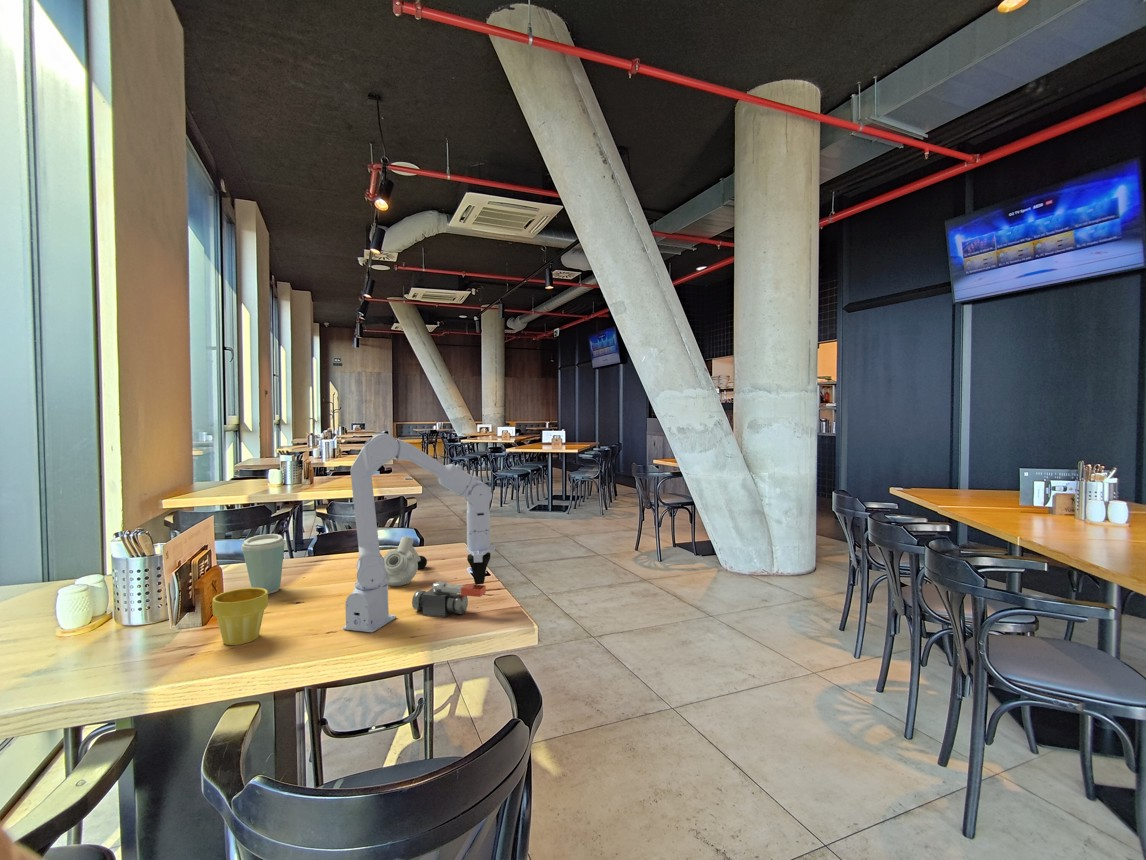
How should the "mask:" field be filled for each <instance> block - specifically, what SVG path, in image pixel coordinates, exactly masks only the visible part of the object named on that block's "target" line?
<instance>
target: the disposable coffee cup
mask: <svg viewBox="0 0 1146 860" xmlns="http://www.w3.org/2000/svg"><path fill="white" fill-rule="evenodd" d="M285 544H286V541H285V539H284V538H283V536H282V535H281V534H277V533H269V534H268V533H267V534H260V535H255V536H252V537H248V538H246V539H245V540H244V541H243V543H242V544H241V548H240V549H241V551H242V553H243V557H244V562H245V566H246V570H247V574H248V578H249V583H250V588H263V589H266V590H267V591H268V595H271V594H273V593H275V592H276V593H277V592H278V591H279V590H280V588H281V582H282V572H283V564H284V553H285Z"/></svg>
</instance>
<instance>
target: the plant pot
mask: <svg viewBox="0 0 1146 860" xmlns="http://www.w3.org/2000/svg"><path fill="white" fill-rule="evenodd" d="M211 601H212V604H211V605H212V606H211V607H212V615H213V616H215V617H216V620H217V624H218V627H219V631H220V632H219V633H220V634H221V638H222V643H223V644H224V645H227V646H239V645H243V644H247V643H250V642H253V641H255V640H256V639H258V638H259V636H260V632H261V627H262V623H263V622H262V621H263V616H264V613H265V610H266V609H267V608H268V606H269V594H268V591H267V590H266V589H263V588H251V587H243V588H236V589H231V590H227V591H224V592H221V593H219V594H217V595H215V596H214V597H213V598H212V600H211Z"/></svg>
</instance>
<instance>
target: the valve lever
mask: <svg viewBox="0 0 1146 860" xmlns="http://www.w3.org/2000/svg"><path fill="white" fill-rule="evenodd" d="M432 587H433V591H434V592H449V593H457V594H461V595H464V596H467V597H478V598H481V597H483V596H484V595H485V594H486V593H487V590H486V589H487V587H486V585H485V584H477V585H476V584H473V583H466V584H465V585H463V584H452V583H451V584H450V583H447V582H446V581H442V580H441V581H435V582H433V583H432Z"/></svg>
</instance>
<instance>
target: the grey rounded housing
mask: <svg viewBox="0 0 1146 860" xmlns="http://www.w3.org/2000/svg"><path fill="white" fill-rule="evenodd" d="M413 544H414V539H413V538H412V537H410V536H402V537H401V539H400V540H399V545H398V546H397V548H394V549H392V550H391V549H390V550H388V551H387V553H386V554H385V555H384V556H382V557H383V558H384V561H385V568H386V572H387V573H386V579H387V580H388V586H392V587H401V586H404V585H409V584H410V583H411V580H413V579H414V578H415V576H416V574H417V572H418V570H423V569H424V568H425V567H426V566H427V564H428V560H427V558H426V557H425V556H424V555H419V553H418V552H417V550H416V549H415V547H414V546H413Z"/></svg>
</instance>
